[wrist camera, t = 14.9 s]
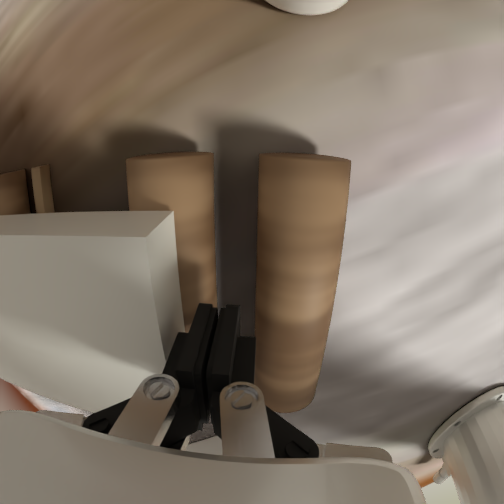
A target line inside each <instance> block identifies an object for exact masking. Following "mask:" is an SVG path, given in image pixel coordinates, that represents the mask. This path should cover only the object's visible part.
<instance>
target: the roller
mask: <svg viewBox="0 0 504 504" xmlns="http://www.w3.org/2000/svg"><path fill="white" fill-rule="evenodd" d="M18 214H31V211H30V205H29V198H28V190H27V182H26V172H25V169H21V170H16V171H11V172H6V173H3V174H0V216H1V215H18Z"/></svg>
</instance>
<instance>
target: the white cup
mask: <svg viewBox="0 0 504 504" xmlns="http://www.w3.org/2000/svg"><path fill="white" fill-rule="evenodd" d="M265 1H266V2H268V3H269V4H271V5H273V6H274V7H276V8H278V9H281V10H283V11H286V12H289V13H293V14H299V15H320V14H325V13H329V12H332V11H334V10H336V9H338V8H340V7H341V6H343V5H344V4H345V3H346V2H347V1H348V0H265Z"/></svg>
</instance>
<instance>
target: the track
mask: <svg viewBox="0 0 504 504" xmlns="http://www.w3.org/2000/svg"><path fill="white" fill-rule="evenodd" d="M350 170H351V161H350V160H348V159H344V158H339V157H333V156H326V155H317V154H305V153H262V154H259V179H258V221H257V261H256V299H255V334H254V337H256V354H255V374H254V385H256V386H257V387H258V388H259V389H260V390H261V391H262V393H263V396H264V402H265V405H266V406H267V407H269V408H270V409H271V410H273V411H274V412H279V413H291V412H296V411H299V410H301V409H303V408H305V407H306V406H308V405H309V404H310V403H311V401H312V400H313V398H314V395H315V391H316V387H317V382H318V378H319V374H320V369H321V365H322V360H323V356H324V351H325V346H326V341H327V337H328V331H329V326H330V321H331V316H332V310H333V305H334V299H335V293H336V287H337V281H338V274H339V267H340V261H341V254H342V246H343V239H344V230H345V222H346V213H347V204H348V194H349V183H350ZM31 174H32V183H33V191H34V199H35V206H36V212H37V213H55V210H54V203H53V196H52V188H51V178H50V168H49V164H48V165H41V166H38V167H34V168H31ZM126 174H127V188H128V200H129V211H174V224H175V238H176V251H177V263H178V273H179V283H180V293H181V302H182V311H183V319H184V327H185V332H186V333H189V330H190V327H191V324H192V321H193V318H194V316H195V313H196V310H197V307H198V304H199V303H208V304H213V307H217V285H216V259H215V223H214V153H211V152H169V153H157V154H148V155H141V156H135V157H131V158H127V159H126ZM217 309H218V308H217Z"/></svg>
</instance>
